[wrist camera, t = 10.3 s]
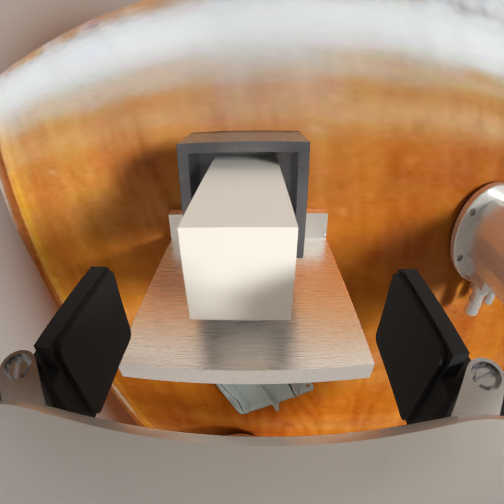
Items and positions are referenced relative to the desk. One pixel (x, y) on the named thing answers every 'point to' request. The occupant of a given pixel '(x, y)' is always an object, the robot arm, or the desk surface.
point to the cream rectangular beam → (240, 242)
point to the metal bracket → (261, 394)
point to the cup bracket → (250, 331)
